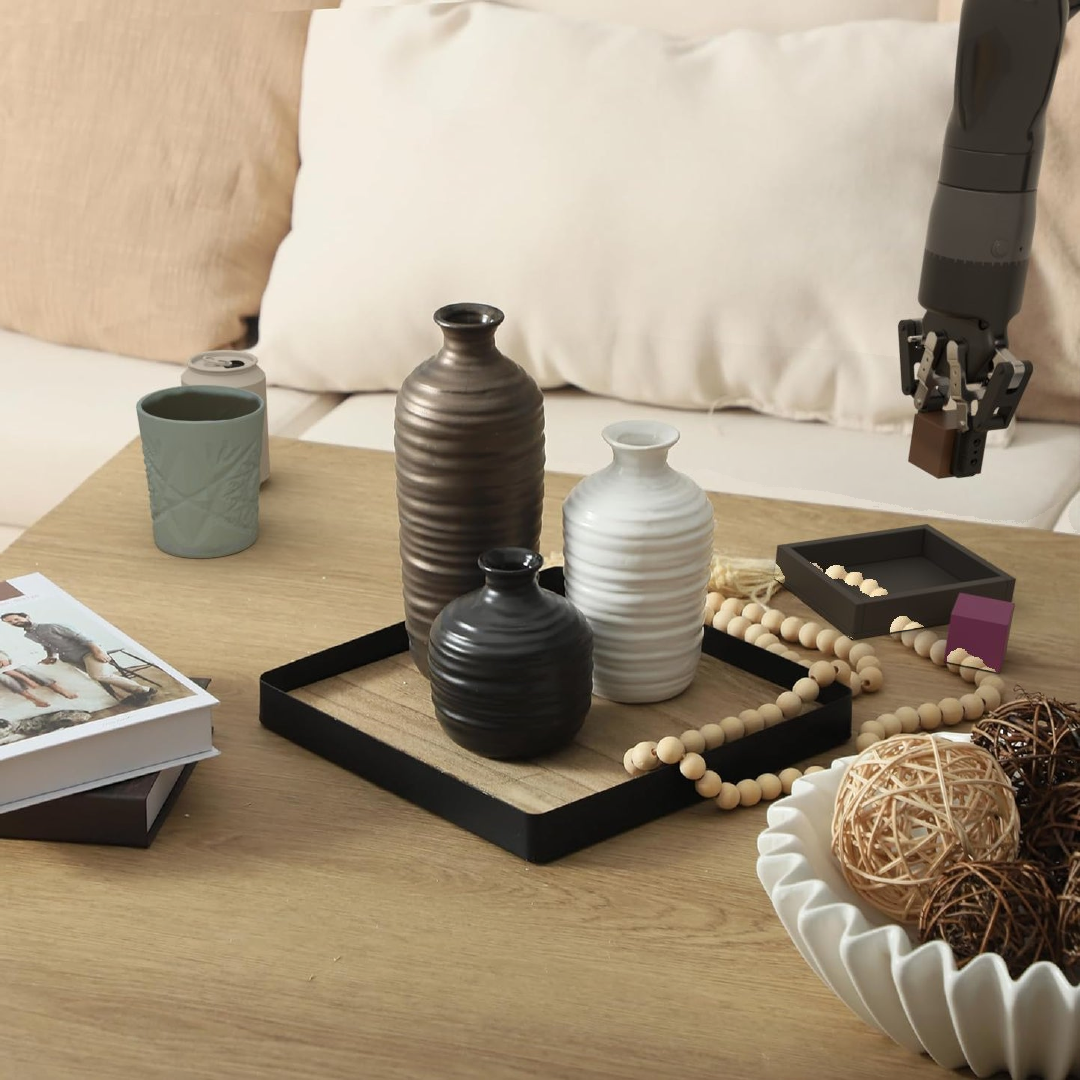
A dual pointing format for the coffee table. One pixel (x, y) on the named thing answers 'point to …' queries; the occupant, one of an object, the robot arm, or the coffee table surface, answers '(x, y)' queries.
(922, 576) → the tray
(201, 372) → the can
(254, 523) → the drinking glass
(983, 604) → the plum block
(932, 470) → the walnut block
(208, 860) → the coffee table surface
